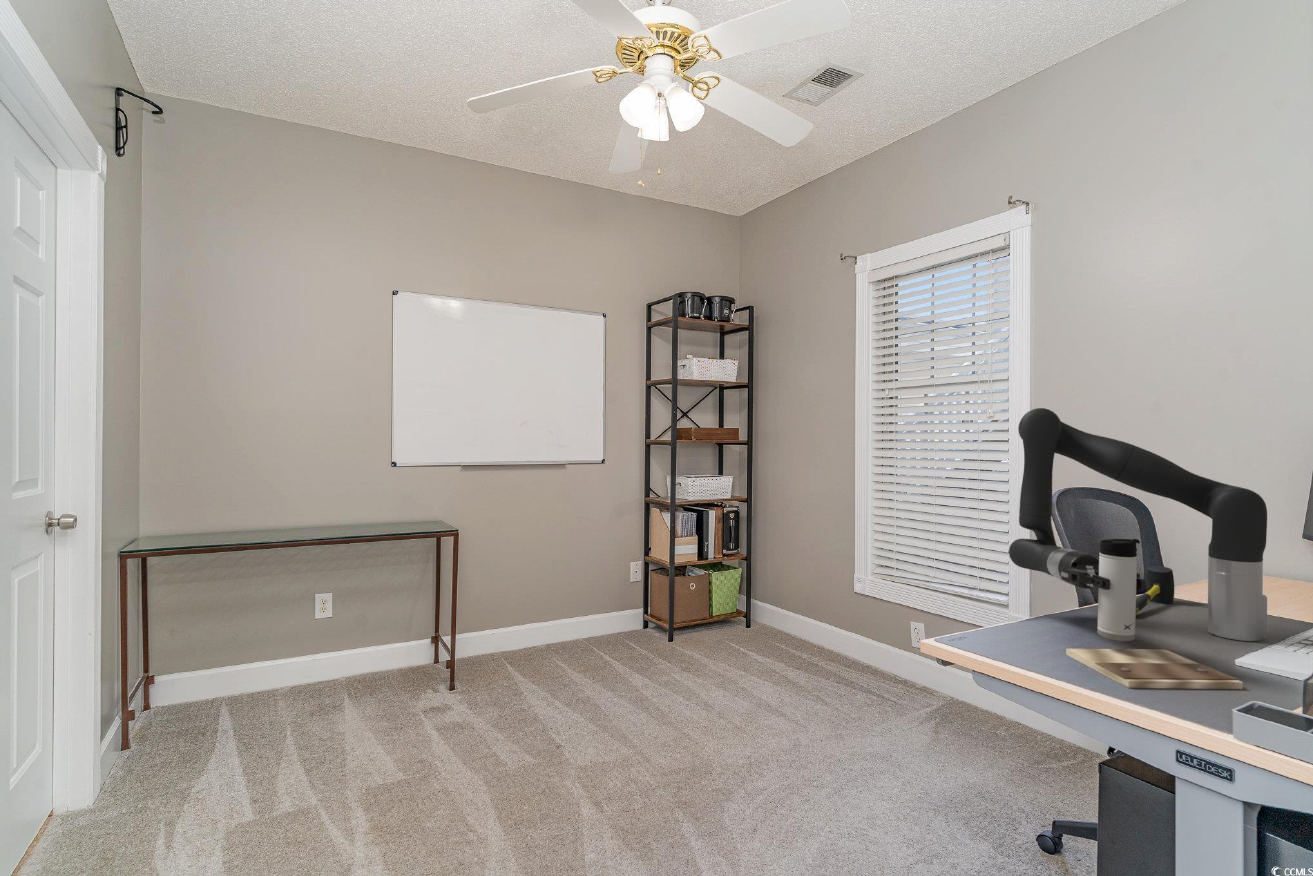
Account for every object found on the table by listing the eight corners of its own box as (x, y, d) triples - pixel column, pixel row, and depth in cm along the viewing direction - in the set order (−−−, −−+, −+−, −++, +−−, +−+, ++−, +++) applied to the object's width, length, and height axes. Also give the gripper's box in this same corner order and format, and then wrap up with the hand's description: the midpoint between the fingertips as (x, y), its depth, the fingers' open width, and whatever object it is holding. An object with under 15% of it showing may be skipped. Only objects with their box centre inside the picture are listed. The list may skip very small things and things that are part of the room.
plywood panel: (1164, 655, 135) (1165, 647, 135) (1242, 689, 117) (1242, 679, 117) (1066, 654, 135) (1066, 646, 135) (1128, 688, 117) (1128, 679, 117)
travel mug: (1138, 643, 131) (1140, 541, 130) (1097, 637, 134) (1100, 538, 134) (1135, 635, 136) (1138, 537, 135) (1096, 629, 139) (1099, 534, 139)
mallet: (1144, 621, 161) (1145, 582, 161) (1115, 616, 166) (1115, 577, 166) (1177, 603, 180) (1177, 567, 180) (1150, 598, 184) (1150, 564, 184)
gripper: (1041, 550, 149) (1089, 565, 132) (1106, 551, 149) (1162, 566, 132) (1041, 583, 149) (1089, 603, 133) (1106, 584, 149) (1162, 604, 132)
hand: (1125, 585), depth 132 cm, fingers closed on travel mug, 6 cm apart
